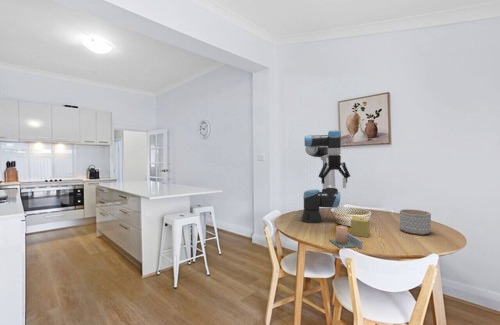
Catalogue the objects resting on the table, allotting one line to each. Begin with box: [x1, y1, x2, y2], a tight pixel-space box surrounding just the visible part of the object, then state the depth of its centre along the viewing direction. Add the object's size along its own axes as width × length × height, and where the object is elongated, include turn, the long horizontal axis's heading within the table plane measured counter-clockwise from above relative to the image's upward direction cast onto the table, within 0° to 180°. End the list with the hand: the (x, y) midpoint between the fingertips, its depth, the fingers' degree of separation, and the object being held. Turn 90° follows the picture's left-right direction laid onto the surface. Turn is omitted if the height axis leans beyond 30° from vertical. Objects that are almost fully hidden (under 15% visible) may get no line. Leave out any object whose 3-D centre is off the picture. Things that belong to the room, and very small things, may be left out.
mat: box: [329, 238, 357, 249], centre depth 136 cm, size 12×9×1 cm
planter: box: [399, 208, 432, 236], centre depth 156 cm, size 16×16×13 cm
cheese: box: [350, 215, 371, 238], centre depth 153 cm, size 10×11×10 cm
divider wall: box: [348, 232, 363, 249], centre depth 137 cm, size 16×1×4 cm, turn 9°
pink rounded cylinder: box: [335, 225, 349, 245], centre depth 136 cm, size 6×6×9 cm
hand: (334, 188), depth 154 cm, fingers open, 13 cm apart
